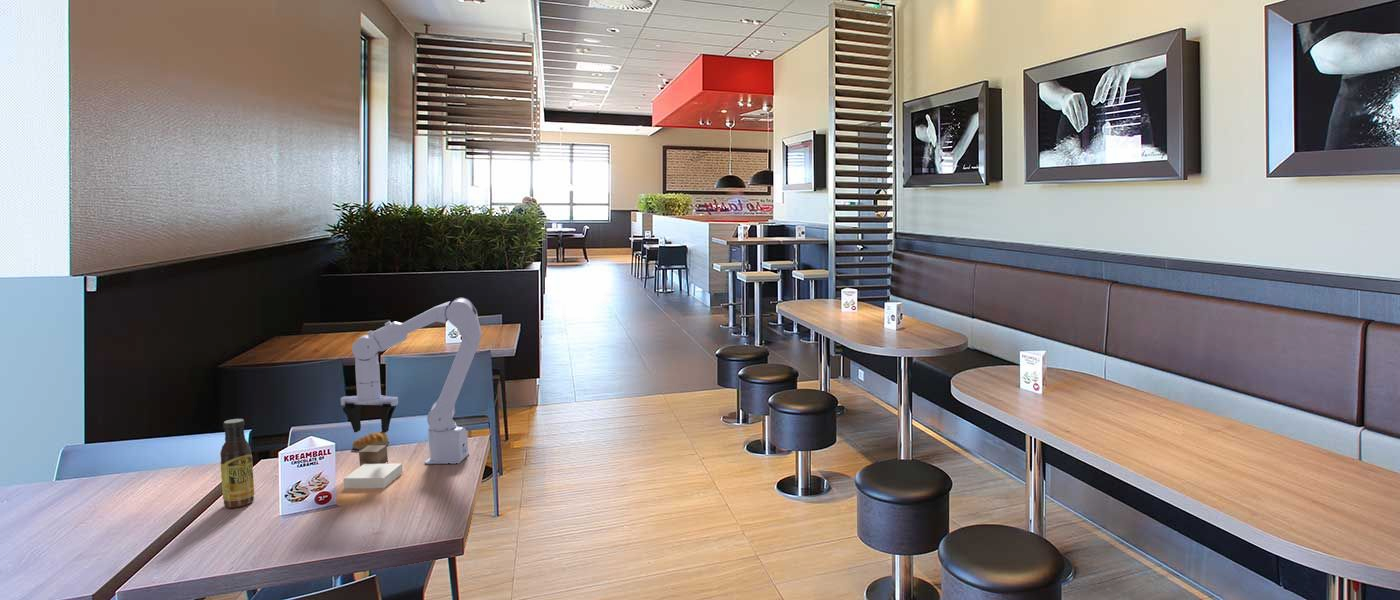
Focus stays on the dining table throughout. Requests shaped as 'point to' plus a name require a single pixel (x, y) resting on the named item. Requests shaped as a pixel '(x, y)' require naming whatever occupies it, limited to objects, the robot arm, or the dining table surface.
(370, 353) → the robot arm
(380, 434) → the pastry
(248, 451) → the sauce bottle
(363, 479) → the base block
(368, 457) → the walnut block
